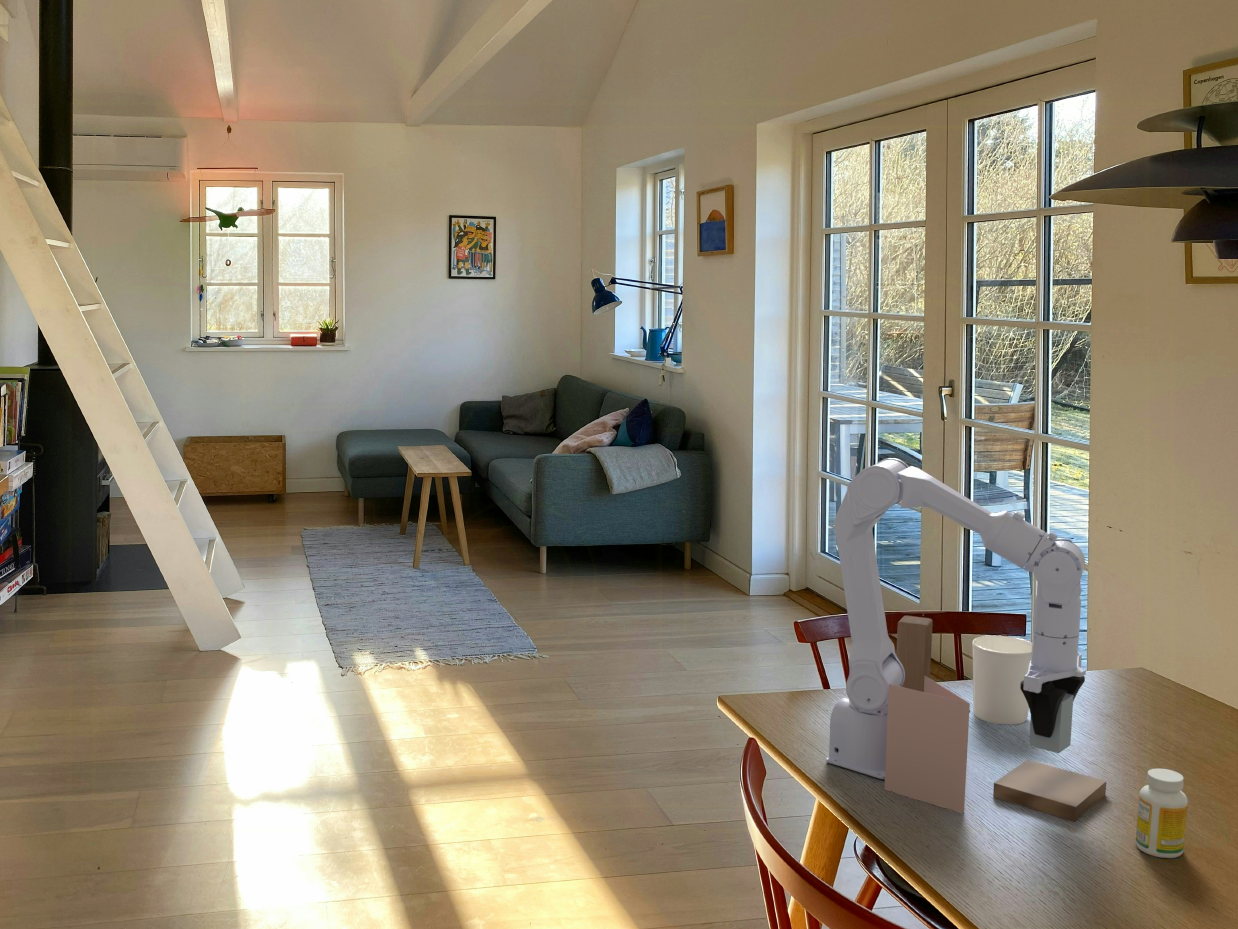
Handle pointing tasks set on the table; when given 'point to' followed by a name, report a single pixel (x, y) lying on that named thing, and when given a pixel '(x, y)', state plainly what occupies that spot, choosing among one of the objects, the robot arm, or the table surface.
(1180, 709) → the table surface
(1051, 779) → the walnut base
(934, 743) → the greeting card
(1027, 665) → the candle holder
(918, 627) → the wooden block
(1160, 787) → the supplement bottle
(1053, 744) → the slate block
